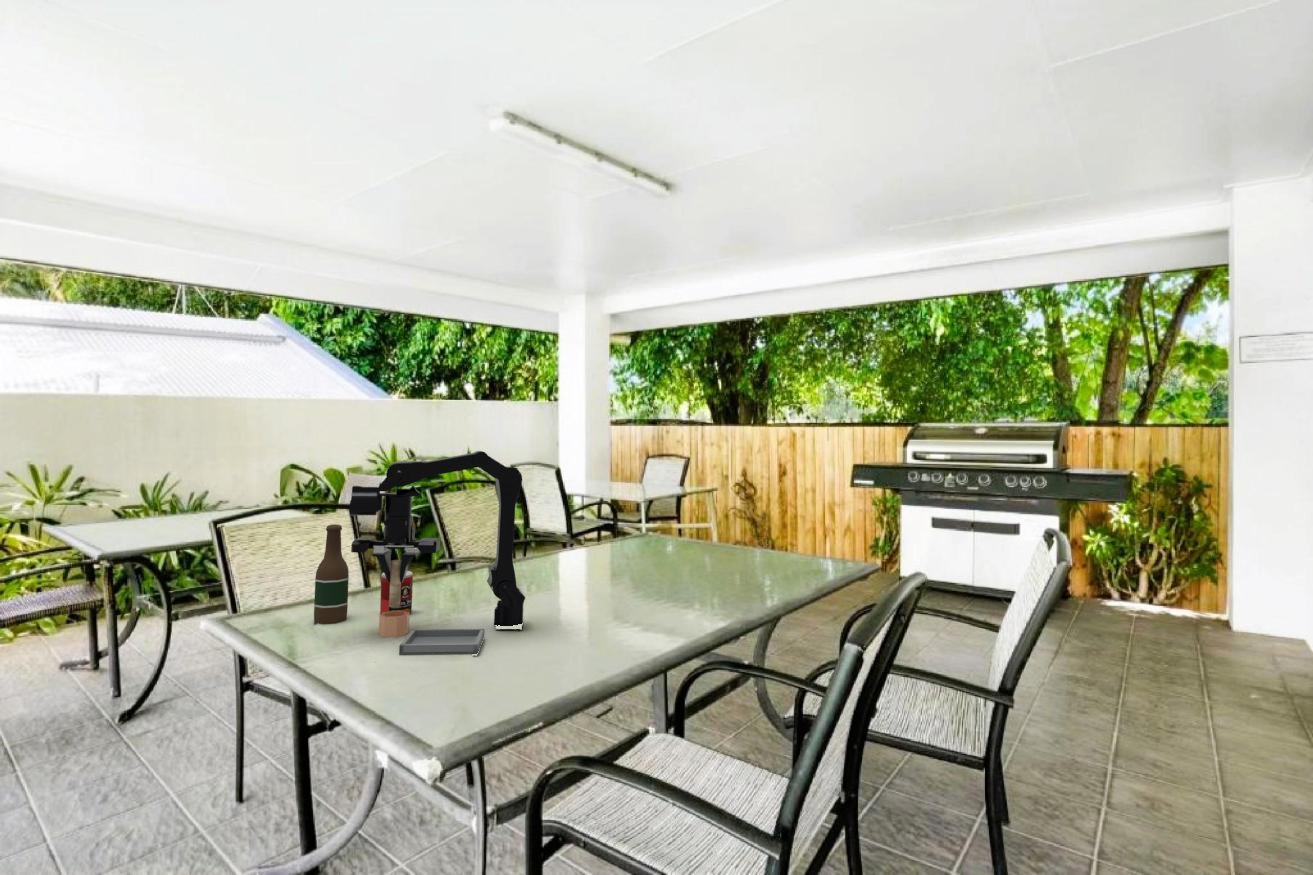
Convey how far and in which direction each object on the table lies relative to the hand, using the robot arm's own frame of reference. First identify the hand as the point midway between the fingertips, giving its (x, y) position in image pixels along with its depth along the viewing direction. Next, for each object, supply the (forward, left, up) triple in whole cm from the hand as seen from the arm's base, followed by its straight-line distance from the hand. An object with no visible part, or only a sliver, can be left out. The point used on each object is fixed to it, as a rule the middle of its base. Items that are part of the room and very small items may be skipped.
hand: (395, 581), depth 152 cm
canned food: (+4, -18, -13) cm, 22 cm away
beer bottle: (+18, -12, -13) cm, 25 cm away
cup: (0, 0, -12) cm, 12 cm away
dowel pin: (0, 0, -6) cm, 6 cm away
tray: (-13, +10, -12) cm, 21 cm away
